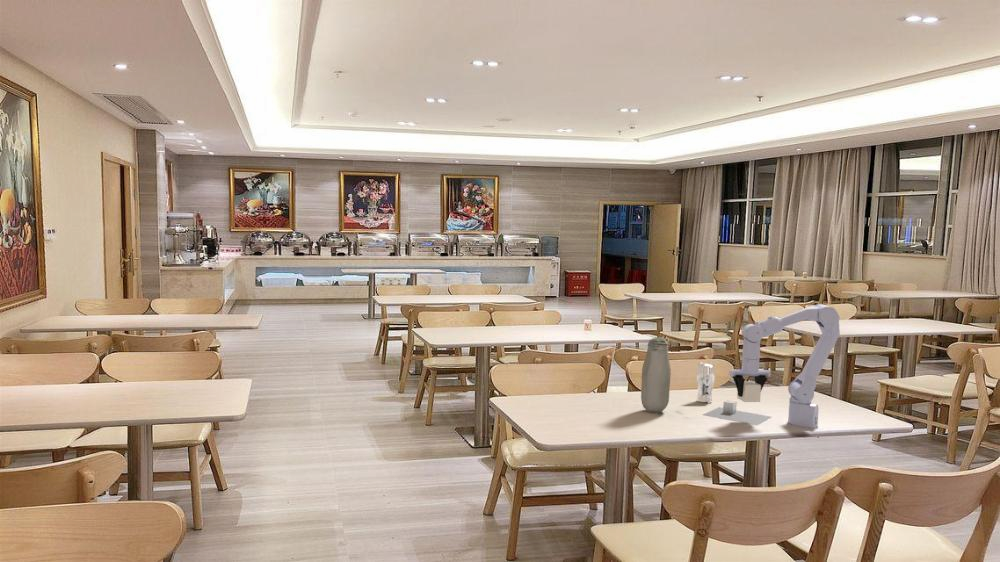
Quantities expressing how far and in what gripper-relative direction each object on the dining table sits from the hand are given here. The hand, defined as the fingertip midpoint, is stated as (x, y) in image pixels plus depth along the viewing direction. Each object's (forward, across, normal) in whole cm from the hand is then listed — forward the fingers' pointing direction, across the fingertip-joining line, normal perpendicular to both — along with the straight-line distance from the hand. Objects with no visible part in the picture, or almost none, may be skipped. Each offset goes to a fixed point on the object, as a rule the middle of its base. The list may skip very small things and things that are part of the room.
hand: (748, 396), depth 259 cm
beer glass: (+10, +2, -33) cm, 34 cm away
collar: (+1, 0, 0) cm, 1 cm away
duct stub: (+10, +2, -11) cm, 15 cm away
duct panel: (+10, +1, -6) cm, 12 cm away
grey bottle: (+10, +29, -17) cm, 35 cm away
